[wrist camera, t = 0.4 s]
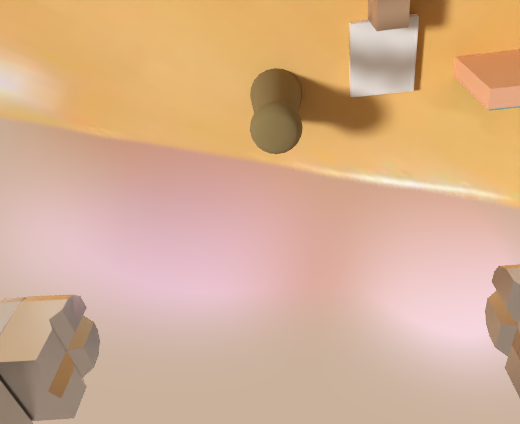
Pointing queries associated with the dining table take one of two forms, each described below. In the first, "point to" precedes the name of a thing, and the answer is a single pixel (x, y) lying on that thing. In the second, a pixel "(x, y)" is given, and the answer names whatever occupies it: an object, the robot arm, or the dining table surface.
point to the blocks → (383, 49)
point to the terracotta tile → (491, 78)
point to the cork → (276, 111)
